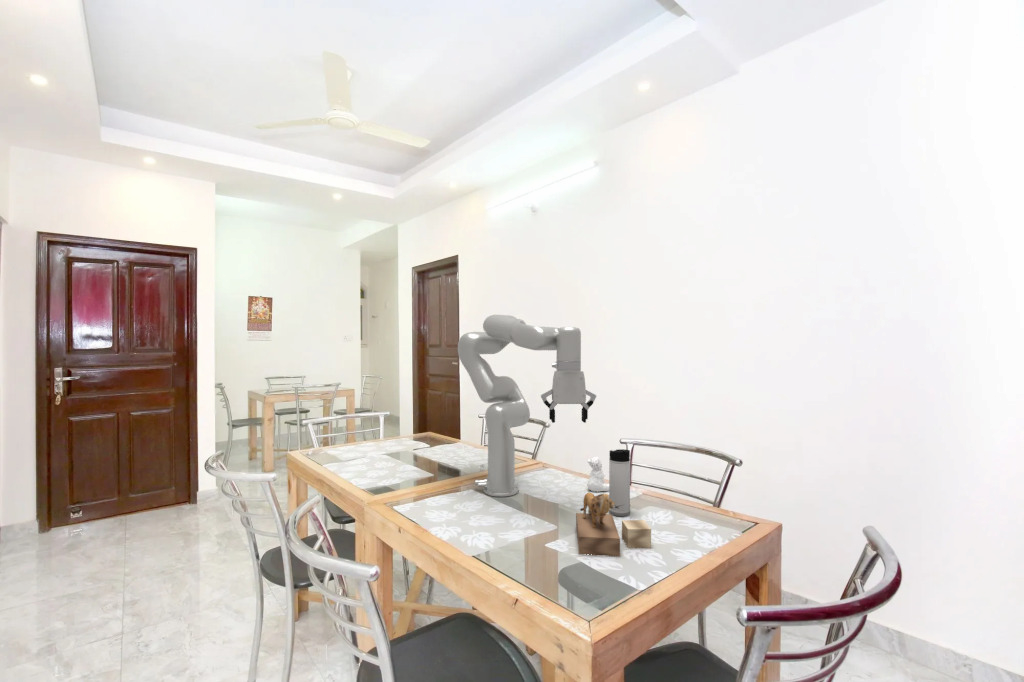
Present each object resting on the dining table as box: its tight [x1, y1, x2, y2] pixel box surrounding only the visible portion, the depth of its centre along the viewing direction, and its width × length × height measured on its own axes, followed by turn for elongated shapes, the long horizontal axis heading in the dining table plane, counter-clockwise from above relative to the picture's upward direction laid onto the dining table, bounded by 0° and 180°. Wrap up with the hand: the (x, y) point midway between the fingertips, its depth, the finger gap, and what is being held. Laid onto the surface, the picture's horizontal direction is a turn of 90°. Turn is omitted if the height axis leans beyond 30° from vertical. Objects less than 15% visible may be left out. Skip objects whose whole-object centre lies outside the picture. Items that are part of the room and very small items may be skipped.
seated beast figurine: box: [586, 456, 609, 493], centre depth 164 cm, size 10×9×12 cm
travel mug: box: [608, 449, 631, 518], centre depth 141 cm, size 6×7×20 cm
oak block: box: [621, 519, 652, 549], centre depth 120 cm, size 6×6×5 cm
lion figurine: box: [579, 492, 615, 528], centre depth 123 cm, size 15×5×9 cm, turn 22°
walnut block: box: [575, 512, 621, 557], centre depth 121 cm, size 10×16×5 cm, turn 175°
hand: (568, 421), depth 141 cm, fingers open, 9 cm apart
